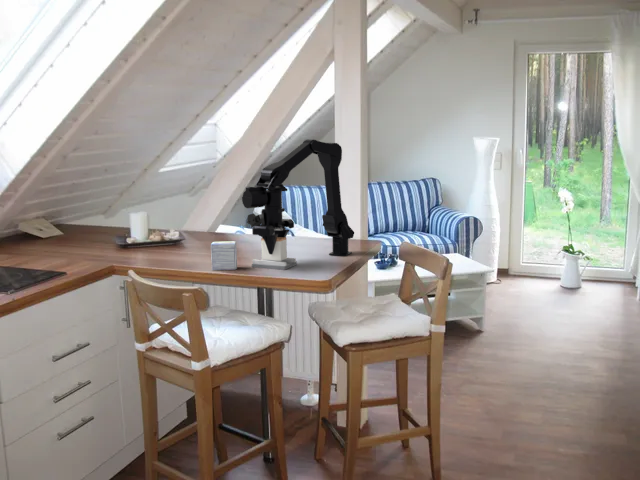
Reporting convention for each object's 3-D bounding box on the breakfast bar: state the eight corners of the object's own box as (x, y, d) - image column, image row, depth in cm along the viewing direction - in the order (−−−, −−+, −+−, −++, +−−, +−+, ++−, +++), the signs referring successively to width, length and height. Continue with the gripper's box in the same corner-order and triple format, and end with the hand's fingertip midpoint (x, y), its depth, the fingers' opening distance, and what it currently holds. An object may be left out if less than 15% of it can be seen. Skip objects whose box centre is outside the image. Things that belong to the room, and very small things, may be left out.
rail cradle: (264, 261, 231) (264, 255, 231) (296, 264, 226) (296, 257, 226) (251, 266, 223) (251, 260, 223) (284, 269, 218) (284, 263, 218)
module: (268, 256, 228) (267, 236, 227) (286, 258, 225) (286, 237, 224) (261, 259, 224) (261, 238, 223) (280, 260, 221) (280, 239, 220)
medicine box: (237, 267, 223) (236, 241, 222) (236, 270, 219) (235, 243, 217) (213, 267, 223) (212, 241, 221) (211, 270, 219) (210, 243, 217)
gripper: (265, 201, 233) (266, 246, 236) (237, 208, 216) (238, 256, 219) (294, 202, 228) (295, 248, 231) (268, 209, 212) (269, 258, 214)
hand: (274, 252), depth 224 cm, fingers closed on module, 4 cm apart
